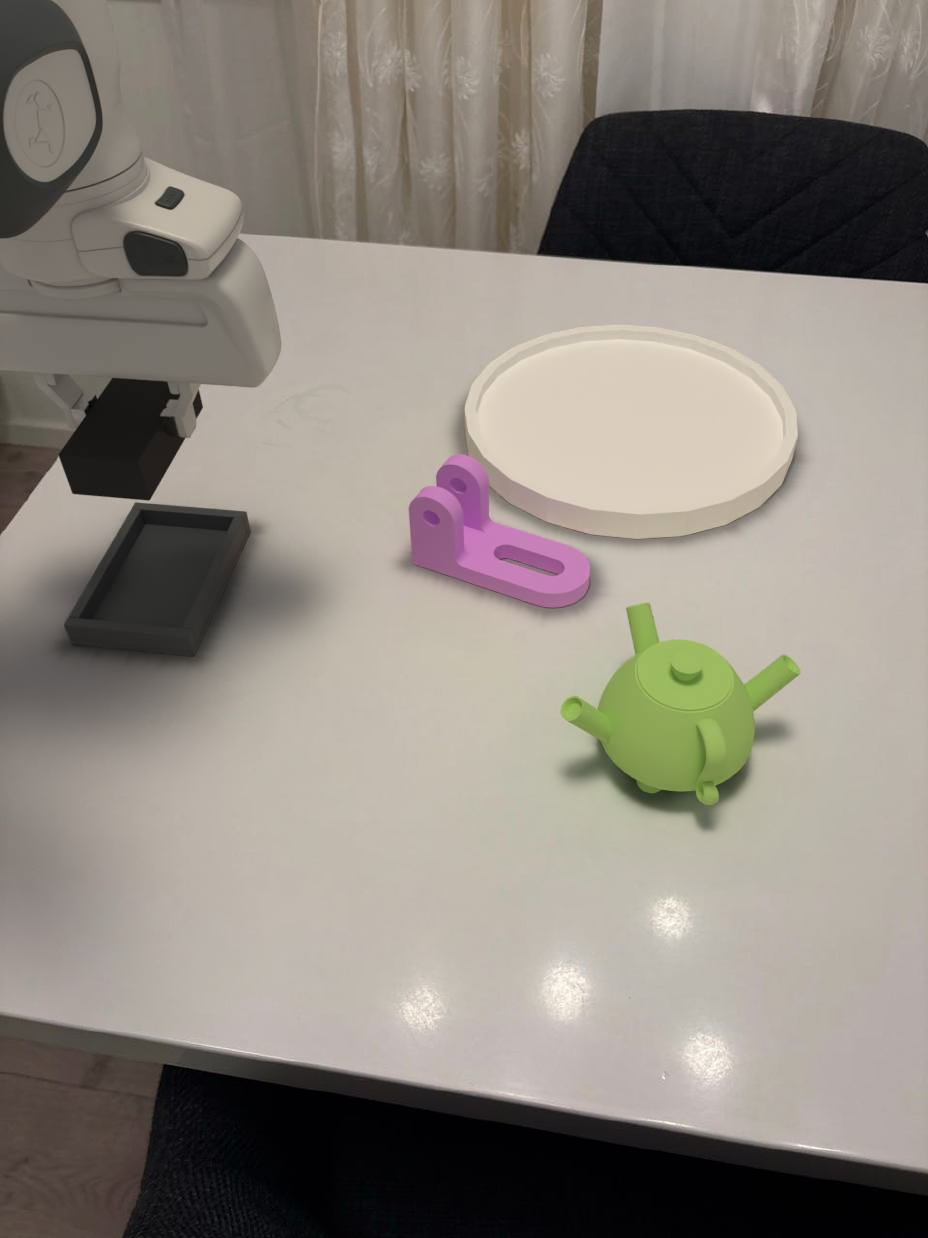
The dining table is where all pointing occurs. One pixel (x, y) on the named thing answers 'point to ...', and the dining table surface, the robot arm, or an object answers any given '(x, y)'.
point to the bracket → (489, 541)
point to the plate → (630, 431)
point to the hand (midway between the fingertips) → (134, 428)
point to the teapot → (677, 712)
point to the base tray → (160, 579)
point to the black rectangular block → (123, 441)
